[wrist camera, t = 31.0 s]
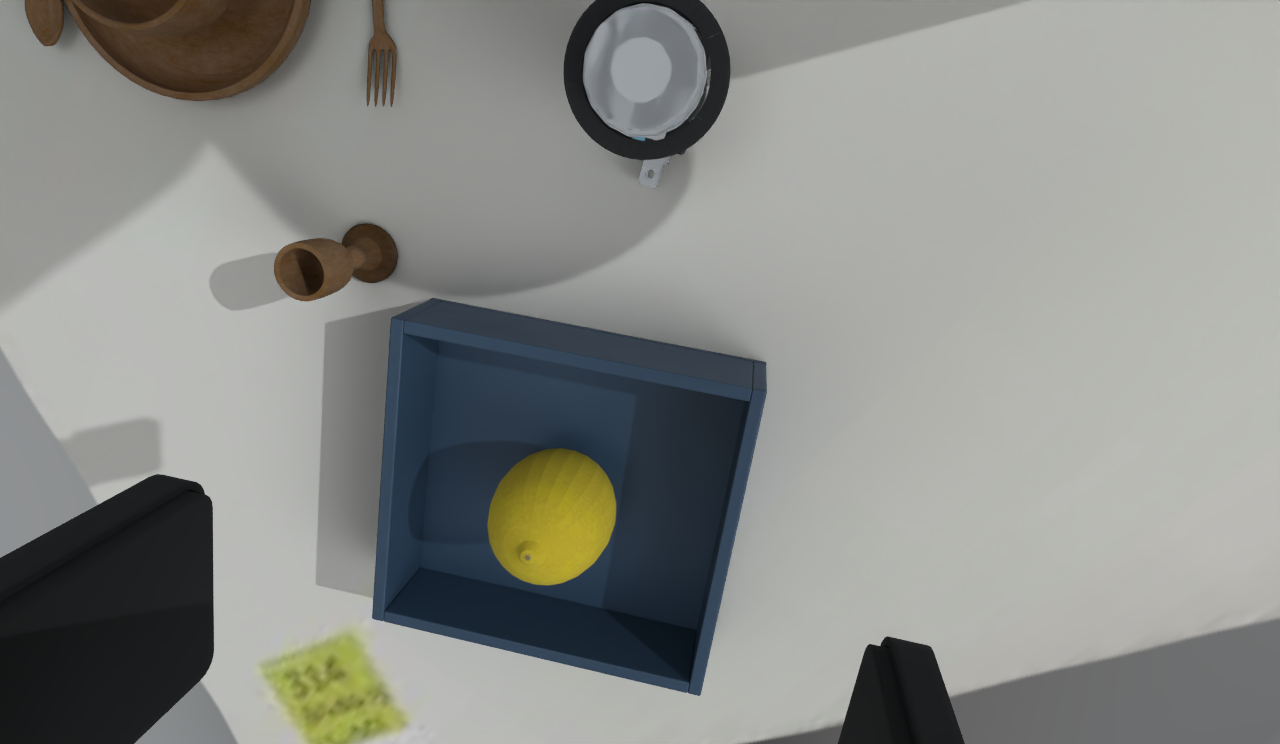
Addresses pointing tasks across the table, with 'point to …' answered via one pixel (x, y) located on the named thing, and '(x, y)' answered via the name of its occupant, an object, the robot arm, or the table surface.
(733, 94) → the table surface
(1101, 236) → the table surface
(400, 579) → the bin
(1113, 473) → the table surface
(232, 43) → the place setting
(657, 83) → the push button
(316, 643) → the table surface
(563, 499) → the lemon
